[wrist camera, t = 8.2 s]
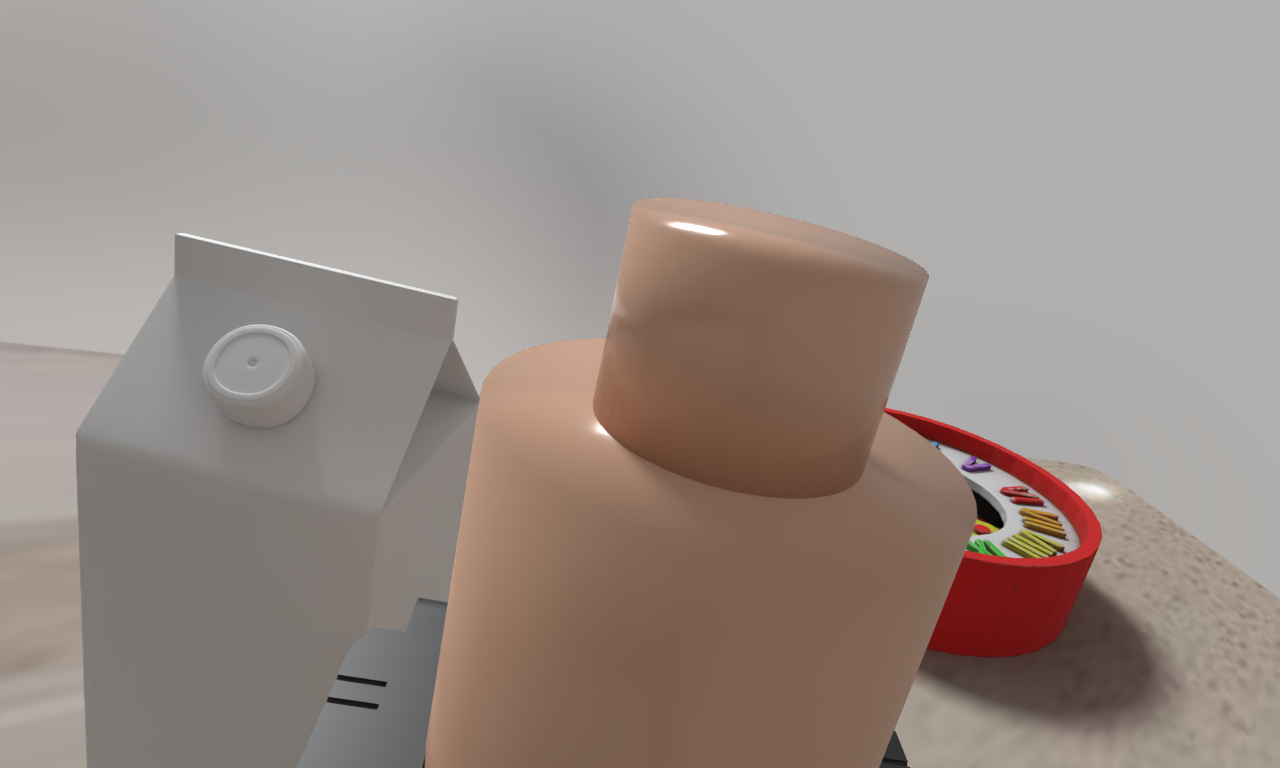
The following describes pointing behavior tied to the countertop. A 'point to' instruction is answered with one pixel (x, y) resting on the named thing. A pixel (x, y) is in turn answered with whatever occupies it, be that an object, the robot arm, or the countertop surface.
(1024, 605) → the toy clock
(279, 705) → the milk carton
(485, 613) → the peach bottle
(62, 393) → the countertop surface
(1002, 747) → the countertop surface
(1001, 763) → the countertop surface
